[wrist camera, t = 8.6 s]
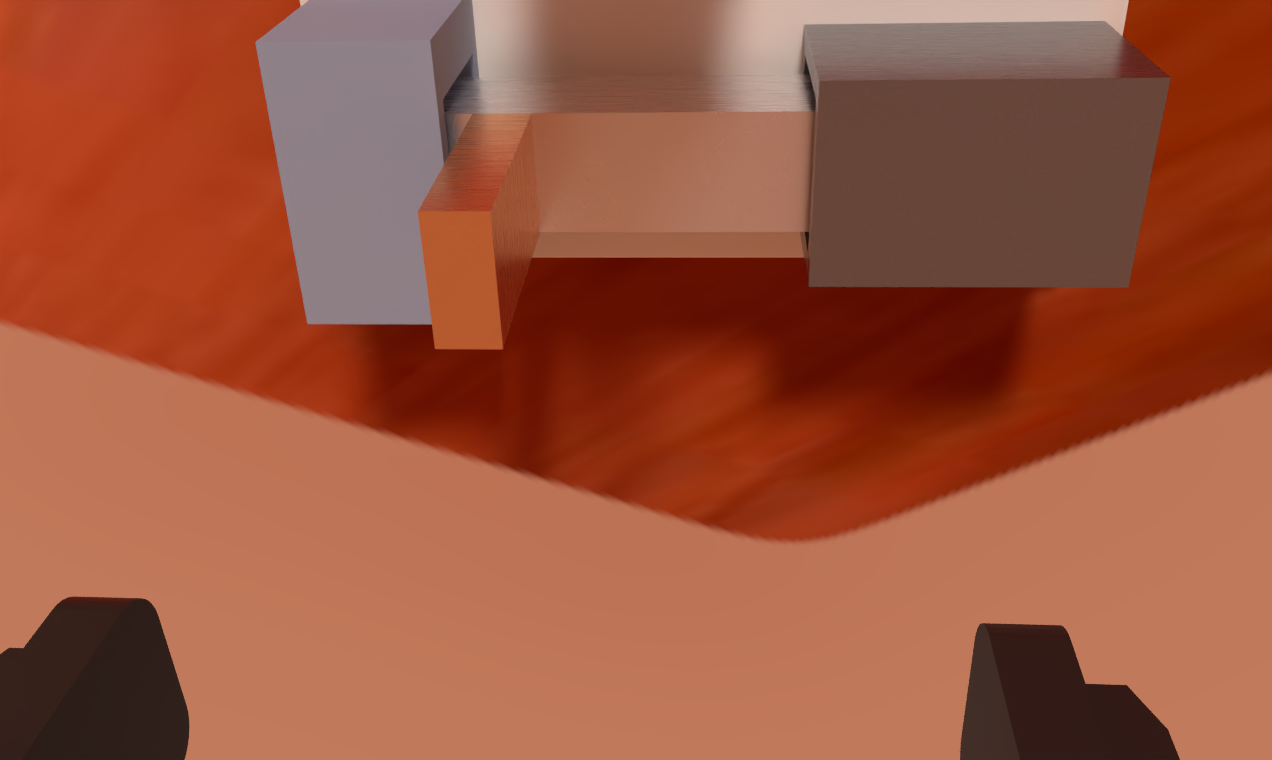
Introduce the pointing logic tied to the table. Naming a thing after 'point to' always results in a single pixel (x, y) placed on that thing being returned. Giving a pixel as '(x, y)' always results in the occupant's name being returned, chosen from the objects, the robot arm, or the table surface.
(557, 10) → the base board
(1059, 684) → the robot arm
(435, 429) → the table surface
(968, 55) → the grey rectangular block
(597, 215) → the inner bar
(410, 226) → the socket block
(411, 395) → the table surface
